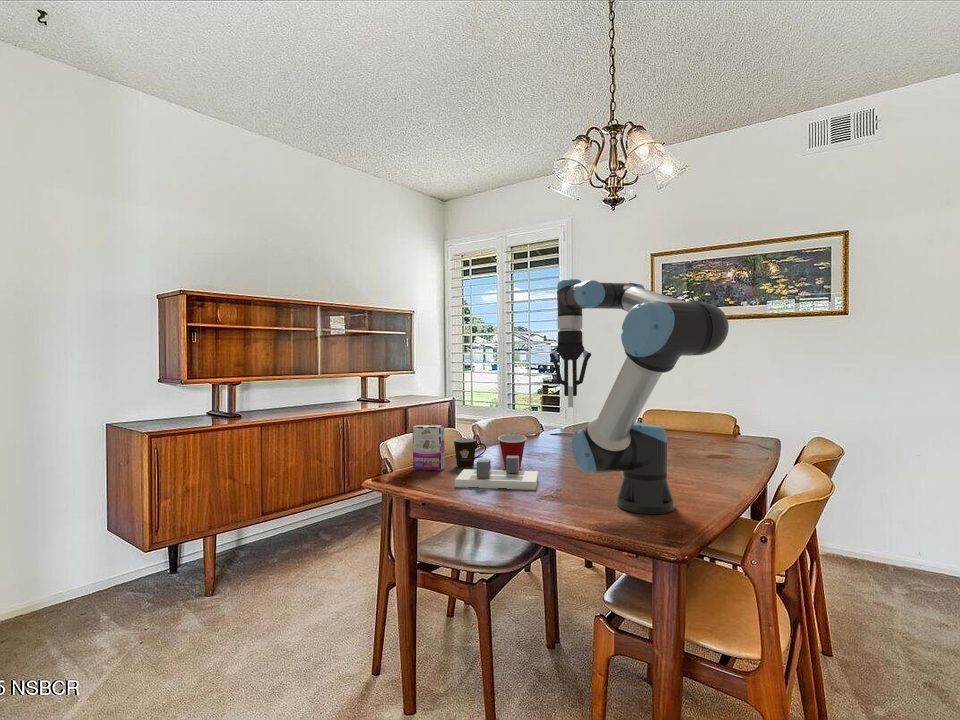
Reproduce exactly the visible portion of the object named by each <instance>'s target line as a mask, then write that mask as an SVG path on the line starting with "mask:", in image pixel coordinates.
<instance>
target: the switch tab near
mask: <svg viewBox="0 0 960 720" xmlns="http://www.w3.org/2000/svg"><path fill="white" fill-rule="evenodd" d="M477 459H478V458H477ZM491 467H492V466H491V459H483V458H482V459H481V458H479V459H478V460H477V461H476V470H477V477H483V478H489V477H490V475H491V470H492V469H491Z"/></svg>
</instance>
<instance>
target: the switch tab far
mask: <svg viewBox="0 0 960 720" xmlns="http://www.w3.org/2000/svg"><path fill="white" fill-rule="evenodd" d="M505 470H506V473H518V472H519V471H520V469H519V456H507V457H506V469H505Z"/></svg>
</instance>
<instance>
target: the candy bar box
mask: <svg viewBox="0 0 960 720" xmlns="http://www.w3.org/2000/svg"><path fill="white" fill-rule="evenodd" d="M411 429H412V431H411V433H412V467H413V471H425V470H433V471H432V472H441V470H442V471H443V470H445V468H446V462H445V460H446V459H445V457H446V456H445V455H446V454H445V426H444V425H437V424H434V425H433V424H431V425H430V424H422V425H421V424H416V425H414V426H412V428H411Z"/></svg>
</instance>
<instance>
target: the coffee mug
mask: <svg viewBox="0 0 960 720" xmlns="http://www.w3.org/2000/svg"><path fill="white" fill-rule="evenodd" d="M453 444H454V453H455V461H456V467H457V466H458V467H457V468H459V467H471V468H473V467H474V466H475V460H476V459H478V458H479V457H481V456H482V455H483V454H484V453H485V452H486V451H487V446H486V444H485V443H477V439H476V438H470V437H469V438H468V437H467V438H465V437H461V438H455V439H454V440H453ZM480 445H481V446H483V447H484V449H483V451H482V452H481V453H480V454H478V455H477V456H475V455H476V449H477V448H478V447H479V446H480ZM472 466H473V467H472Z"/></svg>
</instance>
